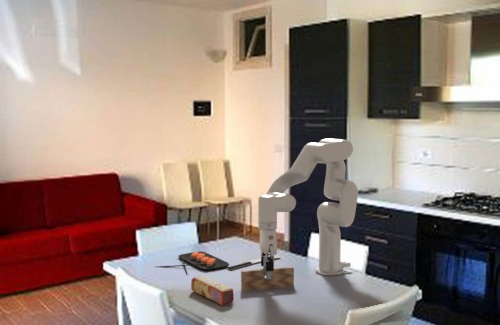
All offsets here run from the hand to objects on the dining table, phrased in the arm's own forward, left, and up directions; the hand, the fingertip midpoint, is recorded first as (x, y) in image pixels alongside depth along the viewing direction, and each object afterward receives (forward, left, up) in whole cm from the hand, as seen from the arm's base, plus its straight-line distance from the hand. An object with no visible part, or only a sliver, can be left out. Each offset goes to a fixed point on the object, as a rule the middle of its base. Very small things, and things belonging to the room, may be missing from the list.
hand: (267, 268), depth 216 cm
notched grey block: (0, 0, -4) cm, 4 cm away
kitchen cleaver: (-3, -37, -9) cm, 39 cm away
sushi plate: (+27, -41, -9) cm, 50 cm away
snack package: (+24, +5, -9) cm, 26 cm away
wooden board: (0, 0, -8) cm, 8 cm away
